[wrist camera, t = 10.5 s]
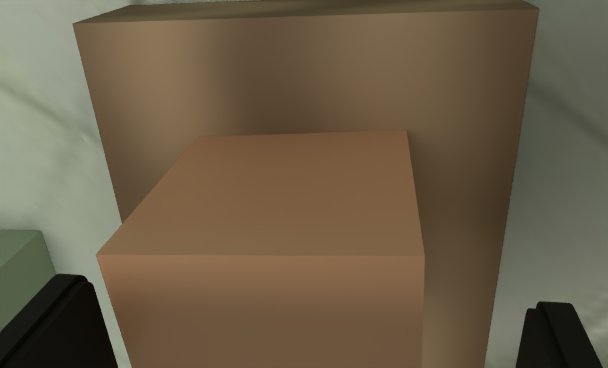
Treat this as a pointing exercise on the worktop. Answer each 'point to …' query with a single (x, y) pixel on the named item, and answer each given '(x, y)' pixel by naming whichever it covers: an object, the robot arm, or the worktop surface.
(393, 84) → the walnut block
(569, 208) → the worktop surface
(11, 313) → the sage cube
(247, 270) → the terracotta cube
